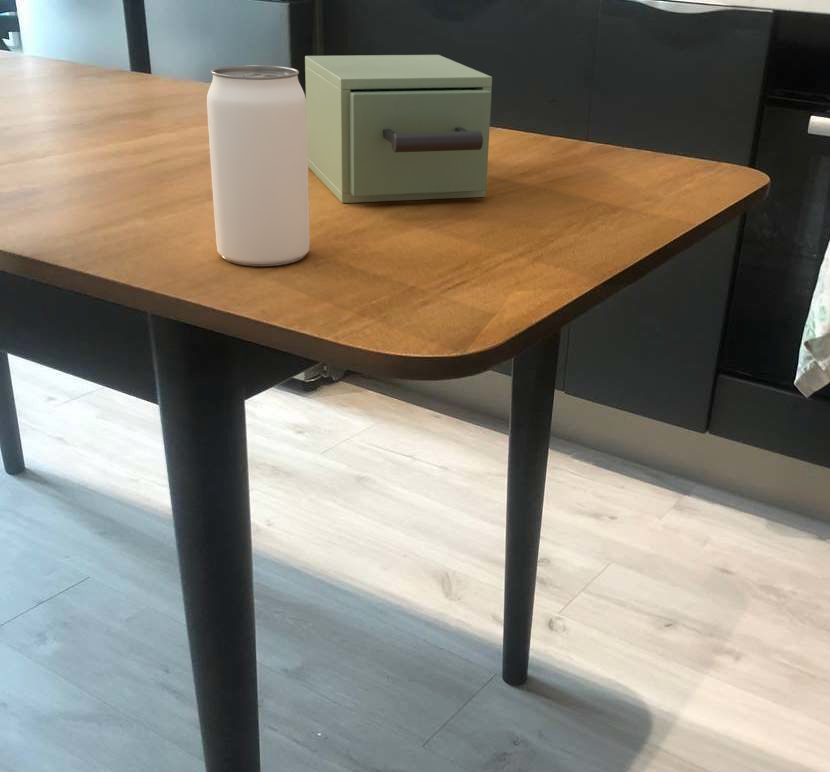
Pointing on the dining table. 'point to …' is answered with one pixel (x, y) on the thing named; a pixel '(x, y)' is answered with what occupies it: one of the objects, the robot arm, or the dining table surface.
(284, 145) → the can
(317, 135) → the cabinet
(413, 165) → the drawer
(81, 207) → the dining table surface
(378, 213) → the dining table surface
